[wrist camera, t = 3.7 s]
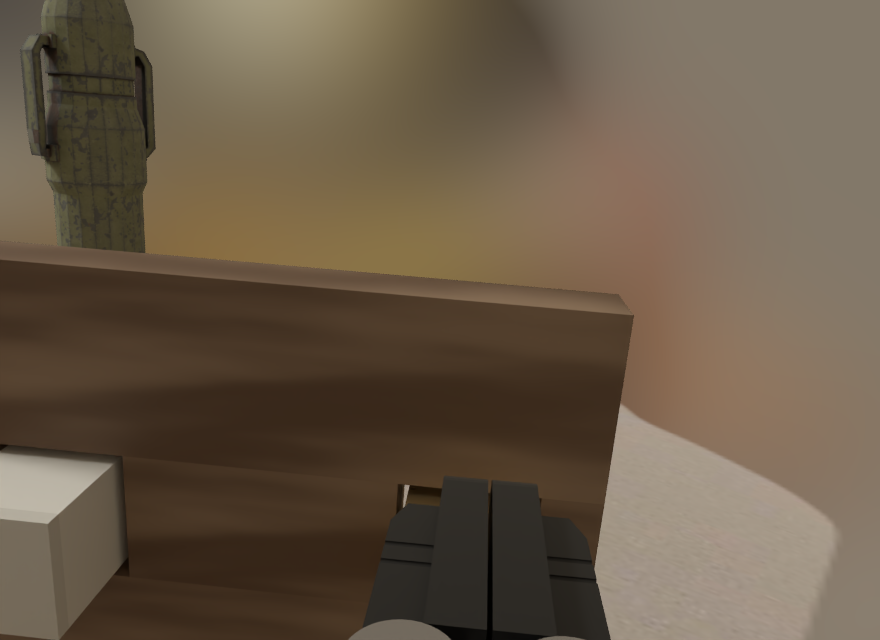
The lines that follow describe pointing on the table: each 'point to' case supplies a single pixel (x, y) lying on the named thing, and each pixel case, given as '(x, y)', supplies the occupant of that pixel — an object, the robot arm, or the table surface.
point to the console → (294, 420)
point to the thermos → (91, 121)
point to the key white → (57, 536)
